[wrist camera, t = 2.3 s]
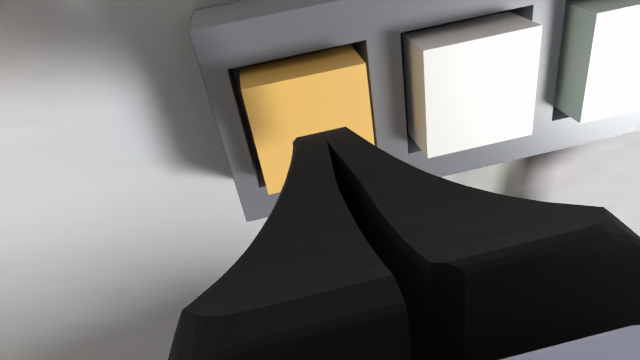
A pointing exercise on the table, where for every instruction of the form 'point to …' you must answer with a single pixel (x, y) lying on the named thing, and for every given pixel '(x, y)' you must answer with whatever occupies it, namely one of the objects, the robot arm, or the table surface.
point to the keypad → (372, 76)
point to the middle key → (471, 82)
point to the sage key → (599, 59)
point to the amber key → (303, 104)
